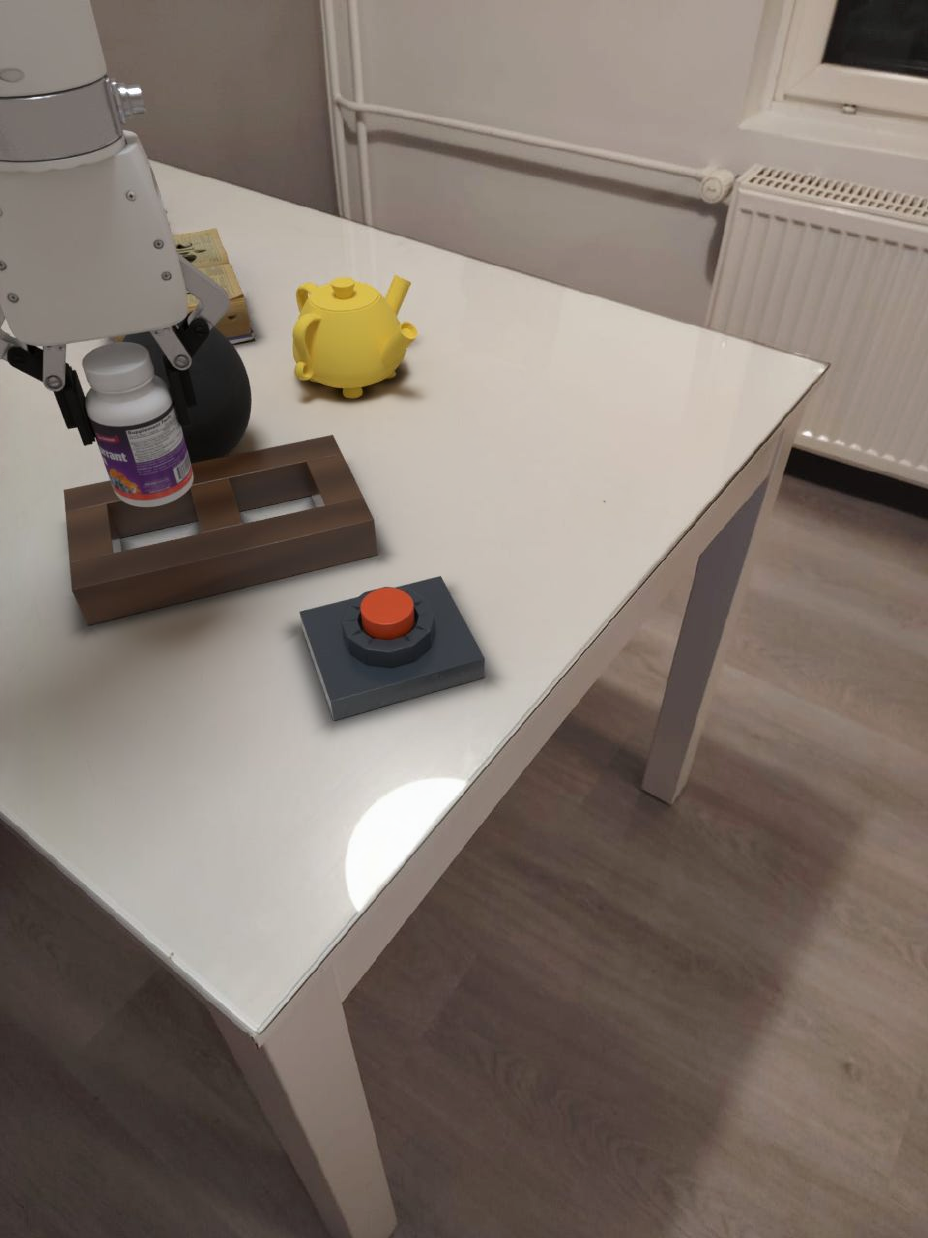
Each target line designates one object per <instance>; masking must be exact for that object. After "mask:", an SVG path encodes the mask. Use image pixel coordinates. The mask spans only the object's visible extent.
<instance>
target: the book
mask: <svg viewBox="0 0 928 1238" xmlns="http://www.w3.org/2000/svg"><path fill="white" fill-rule="evenodd" d="M173 238H174V242H175V246H176V249H177V253H179V254H180V255H181V256H182V257H184V258H185V259H186V260H187V261H189V262H190V263H191V264H193V265H194V266H195V267H196V268H198V269H199V270H200V271H202V272H203V273H204V274H205V275H207V276H208V277H209V278H211V279H212V280H213V281H214V282H216V283H217V284H218V285H220V286H221V287H222V288H223V289H225V290H226V292H227V293H228V296H229V299H230V302H231V306H230V308H229V310H228V311H227V312H226V313H225V314H224V316H223V317H222V318H221V319H220V320H219V322H218V323H217V324H216V325H215V326H214V327H216V328H217V329H218V330H219V331H220V332H221V333H223V334H224V335H225V336H226V338H227V339H228V340H229V341H230V342H231V344H232V345H233V344H238V343H242V342H247V341H251V340H253V339H254V338H255V337H256V335H255V332H254V330H253V328H252V325H251V318H250V314H249V311H248V307H247V304H246V303H247V301H246V297H245V295H244V293H243V291H242V289H241V286H240V285H239V282H238V280H237V277H236V275H235V271H234V269H233V265H232V264H231V263H230V260H229V256H228V252H227V250H226V248H225V246H224V244H223V242H222V240H221V237H220V234H219V231H218V230H217V228H211V229H205V230H201V231H195V232H188V233H181V234H175V235H173ZM186 293H187V300H188V314H189V313H190V312H192V311H194V310H195V308H196V306H197V305H198V303H199V302H200V300H199V299H197V298H196V297H195V296H193V295H192V294H191V293H189V292H188V291H187V290H186ZM125 336H126V335H122V336H116V337H112V341H113V342H112V343H118V342H122V341H123V339H124V337H125Z"/></svg>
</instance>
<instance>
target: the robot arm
mask: <svg viewBox="0 0 928 1238" xmlns="http://www.w3.org/2000/svg"><path fill="white" fill-rule="evenodd" d="M146 114H147V107H146V103H145V99H144V95H143V91H142V87H141V84H139V83H138V84H129V85H126V84H125V82H117V81H116V78H115V77H109V73H108V68H107V63H106V58H105V55H104V52H103V46H102V44H101V40H100V35H99V32H98V27H97V24H96V20H95V17H94V12H93V8H92V4H91V1H90V0H0V360H3V361H5V362H7V363H8V364H9V365H10V366H11V367H13V368H14V369H16V370H18V371H20V372H22V373H24V374H25V375H28V376H30V377H32V378H34V379H36V380H38V381H39V382H41V383H42V384H43V386H44V388H46V389H47V390H49V391H50V392H53V395H54V397H55V399H56V402H57V405H58V408H59V411H60V413H61V416H62V418H63V421H64V424H65V426H66V429H67V430H72V429H77V431H78V433H79V436H80V439H81V441H82V445H83V446H90V445H93V443H94V442H96V439H95V436H94V433H93V430H92V427H91V424H90V422H89V419H88V416H87V413H86V409H85V397H86V395H85V391H84V389H83V387H82V384H81V381H80V377H79V375H78V372H77V370H76V369H74V370H73V366H72V365H70V364H69V363H68V362H66V359H67V345H68V344H75V343H82V342H89V341H95V340H102V339H103V340H104V339H108V338H109V339H110V338H113V337H116V336H122V335H128V334H135V333H141V332H147V331H150V333H151V334H152V336H153V337H154V339H155V340H156V342H157V343H158V344H159V346H160V347H161V349H162V350H163V352H164V353H165V356H162V357H163V361H164V366H165V370H166V375H167V379H168V382H169V386H170V390H171V393H172V397H173V401H174V404H175V408H176V412H177V416H178V419H179V423H180V426H184V427H189V426H192V425H191V421H190V417H189V413H188V409H187V408H191V407H196V406H198V404H197V400H196V396H195V392H194V388H193V384H192V380H191V376H190V372H189V367H190V366H191V363H192V361H191V359H192V358H193V356H194V355H195V353H196V352H197V351H198V349H199V348H200V347H201V345H202V344H203V342H204V341H205V340H206V338H207V337H208V335H209V332H210V330H211V329H212V327H213V326H215V325H216V324H217V323H218V322H219V320H220V319H221V318H222V317H223V316H224V314H225V313H226V312H227V311H228V310H229V308H230V306H231V302H230V299H229V296H228V293H227V292H226V290H225V289H223V288H222V287H221V286H220V285H218V284H217V283H216V282H214V281H213V280H212V279H211V278H209V277H208V276H207V275H205V274H204V273H203V272H202V271H200V270H199V269H198V268H196V267H195V266H194V265H193V264H191V263H190V262H189V261H187V260H186V259H185V258H184V257H182V256H181V255H180V254H179V253H177V249H176V246H175V242H174V238H173V236H174V234H173V232H172V228H171V225H170V222H169V221H170V220H169V218H168V213H167V214H166V211H165V208H166V207H165V204H164V200H163V197H162V194H161V190H160V188H159V186H158V182H157V180H156V176H155V173H154V170H153V168H152V165H151V163H150V160H149V158H148V156H147V153H146V151H145V149H144V146H143V144H142V142H141V140H140V137H139V136H138V134H137V133H135V131H130V130H128V129H127V130H126V129H123V128H122V125H127V120H126V119H133V118H134V116H137V115H146ZM186 290H187V291H188V292H189V293H191V294H192V295H193V296H195V297H196V298H197V299H199V300H200V302H199V303H198V305H197V306H196V308H195V310H194V311H192V312H190V313H189V314H188V300H187V293H186ZM187 314H188V315H187ZM185 317H186V318H185ZM184 318H185V319H184ZM183 319H184V321H183V322H182V324H181V325H180V326H179V328H178V326H177V325H176V324H177V323H179V322H181V321H182V320H183ZM5 321H6V323H7V325H8V328H9V329H10V331H11V333H12V335H13V336H12V335H11V334H10V333H8V332H6V331H4V330H3V329H2V326H3V325H4V322H5ZM40 347H42V348H40Z"/></svg>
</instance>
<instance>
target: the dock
mask: <svg viewBox="0 0 928 1238" xmlns="http://www.w3.org/2000/svg"><path fill="white" fill-rule="evenodd" d="M191 466H192V471H193V483H192V485H191V487H190V489H189V490H188V491H187V492H186V493H185V494H184V495H182V496H181V497H179V498H178V499H176V500H174V501H172V502H169V503H167V504H164V505H160V506H154V507H138V506H133V505H130V504H128V503H125V502H124V501H122V500H121V499H120V498H119V497H118V496H117V495H116V493H115V491H114V489H113V486H112V484H111V481H110V479H109V480H104V481H100V482H95V483H90V484H85V485H81V486H76V487H70V488H66V489H63V499H64V510H65V512H64V513H65V523H66V524H65V525H66V534H67V549H68V560H69V572H70V573H69V574H70V585H71V592H72V594H73V597H74V599H75V601H76V603H77V605H78V608H79V610H80V613H81V615H82V616H83V619H84V621H85V623H86V626H91V625H95V624H99V623H103V622H108V621H111V620H117V619H119V618H120V619H121V618H124V617H128V616H131V615H136V614H140V613H144V612H149V611H153V610H156V609H160V608H164V607H168V606H169V607H170V606H173V605H177V604H181V603H185V602H189V601H194V600H198V599H203V598H205V597H206V598H207V597H210V596H214V595H219V594H222V593H226V592H231V591H235V590H239V589H243V588H247V587H251V586H255V585H260V584H263V583H268V582H271V581H276V580H279V579H280V580H281V579H284V578H288V577H293V576H296V575H300V574H305V573H309V572H313V571H317V570H321V569H325V568H330V567H334V566H338V565H342V564H346V563H351V562H355V561H358V560H363V559H366V558H371V557H375V556H378V555H379V552H378V551H379V550H378V541H377V532H376V531H377V530H376V521H375V520H376V519H375V518H374V516H373V514H372V511H371V509H370V508H369V506H368V503H367V502H366V500H365V498H364V495H363V493H362V491H361V489H360V487H359V485H358V483H357V481H356V479H355V477H354V475H353V472H352V471H351V468H350V467H349V464H348V463H347V461H346V458H345V456H344V454H343V453H342V450H341V448H340V446H339V444H338V442H337V440H336V438H335V436H334V434H330V435H325V436H320V437H315V438H310V439H304V440H301V441H295V442H291V443H285V444H281V445H276V446H271V447H266V448H262V449H255V450H252V451H246V452H242V453H237V454H236V453H235V454H231V455H226V456H225V457H222V458H217V459H212V460H207V461H202V462H197V463H192V464H191ZM307 497H311V498H312V500H313V503H314V505H315V507H313V508H309V509H304V510H300V511H295V512H291V513H290V512H289V513H286V514H281V515H277V516H273V517H269V518H268V517H267V518H263V519H260V520H259V519H258V520H254V521H250V522H246V523H244V522H243V520H242V516H241V513H240V512H243V511H248V510H253V509H258V508H261V507H266V506H270V505H275V504H279V503H285V502H290V501H293V500H298V499H302V498H307ZM193 522H198V523H199V528H200V532H201V533H197V534H193V535H189V536H183V537H180V538H175V539H171V540H166V541H161V542H157V543H153V544H149V545H148V544H147V545H144V546H140V547H136V548H135V547H134V548H131V549H125V550H122V545H121V539H122V538H126V537H131V536H136V535H139V534H143V533H148V532H154V531H157V530H162V529H166V528H172V527H176V526H181V525H186V524H189V523H193Z"/></svg>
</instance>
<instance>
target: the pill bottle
mask: <svg viewBox="0 0 928 1238" xmlns="http://www.w3.org/2000/svg"><path fill="white" fill-rule="evenodd" d="M81 365H82V368H83V371H84V375H85V378H86V382H87V383H88V385H89V387H90V388H89V390H88V391H87V393H86V395H85V409H86V413H87V416H88V419H89V422H90V424H91V427H92V430H93V433H94V436H95V442H96V444H97V447H98V449H99V453H100V455H101V459H102V461H103V464H104V466H105V469H106V472H107V475H108V478H109V480H110V481H111V484H112V486H113V489H114V491H115V493H116V495H117V496H118V497H119V498H120V499H121V500H122V501H124V502H125V503H128V504H130V505H133V506H138V507H154V506H160V505H164V504H167V503H169V502H172V501H174V500H176V499H178V498H179V497H181V496H182V495H184V494H185V493H186V492H187V491H188V490H189V489H190V487H191V485H192V483H193V471H192V466H191V462H190V458H189V455H188V451H187V447H186V444H185V440H184V436H183V432H182V428H181V426H180V423H179V419H178V416H177V412H176V408H175V404H174V401H173V397H172V393H171V390H170V387H169V386H168V384H167V383H166V382H165V381H164V380H163V379H161V378H160V377H158V376H156V375H154V366H153V364H152V361H151V358H150V355H149V352H148V351H147V349H146V348H145V347H143V346H142V345H139V344H136V343H131V342H118V343H113V342H112V343H111V342H110V343H107V344H103V345H101V346H98V347H96V348H94V349H91V351H89V352H88V353H86V354H85V355H84V357H83V358H82V361H81Z"/></svg>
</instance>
